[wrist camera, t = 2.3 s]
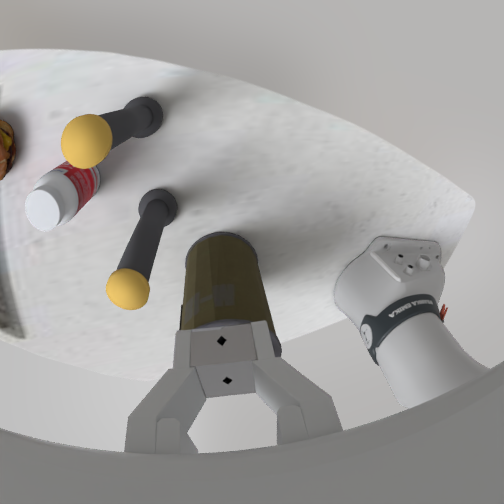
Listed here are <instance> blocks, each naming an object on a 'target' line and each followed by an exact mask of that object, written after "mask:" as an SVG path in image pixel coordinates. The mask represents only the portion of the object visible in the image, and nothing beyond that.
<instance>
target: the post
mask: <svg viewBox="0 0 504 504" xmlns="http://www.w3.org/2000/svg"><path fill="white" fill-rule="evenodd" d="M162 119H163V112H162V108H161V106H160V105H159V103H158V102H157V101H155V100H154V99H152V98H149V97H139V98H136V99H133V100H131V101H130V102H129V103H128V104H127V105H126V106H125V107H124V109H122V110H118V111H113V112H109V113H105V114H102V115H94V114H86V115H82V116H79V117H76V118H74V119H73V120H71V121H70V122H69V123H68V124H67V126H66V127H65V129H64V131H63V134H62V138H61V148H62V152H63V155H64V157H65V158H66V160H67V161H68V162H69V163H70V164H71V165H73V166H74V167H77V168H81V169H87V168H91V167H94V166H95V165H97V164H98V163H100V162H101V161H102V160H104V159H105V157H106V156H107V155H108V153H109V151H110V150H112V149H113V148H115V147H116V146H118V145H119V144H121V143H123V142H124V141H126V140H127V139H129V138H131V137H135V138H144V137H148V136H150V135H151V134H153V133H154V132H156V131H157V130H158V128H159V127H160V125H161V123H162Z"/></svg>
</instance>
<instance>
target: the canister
mask: <svg viewBox="0 0 504 504" xmlns="http://www.w3.org/2000/svg"><path fill="white" fill-rule="evenodd" d="M185 267H186V276H185V287H184V298H183V305H181V316H180V329H179V330H192V329H201V328H213V327H222V326H229V325H237V324H244V323H251V322H258V321H264V320H265V321H266V322H267V325H268V329H269V333H270V337H271V342H272V346H273V350H274V354H275V357H281V353H282V349H281V344H280V342H279V339H278V337H277V336H276V333H275V329H274V325H273V321H272V317H271V313H270V310H269V306H268V302H267V298H266V294H265V290H264V287H263V283H262V279H261V275H260V271H259V267H258V259H257V254H256V252H255V250H254V248H253V247H252V246H251V244H250V243H249V242H248V241H246V240H245V239H244V238H242V237H240V236H239V235H235V234H232V233H225V232H219V233H213V234H209V235H207V236H204V237H202V238H200V239H199V240H198V241H196V242H195V243H194V244H193V245H192V247H191V248H190V249H189V251H188V254H187V256H186V262H185Z"/></svg>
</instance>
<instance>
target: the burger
mask: <svg viewBox="0 0 504 504" xmlns="http://www.w3.org/2000/svg"><path fill="white" fill-rule="evenodd" d="M13 135H14V134H13V130H12V128H11V126H10V125H9V124H8V123H7V122H5V121H2V120H0V180H2V179H3V178H4V177H5V175H6V174H7V173H8V172H9V170H10V169H11V168H12V162H13V160H14V158H15V154H16V146H15V144H14V141H13Z"/></svg>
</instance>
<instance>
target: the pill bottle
mask: <svg viewBox="0 0 504 504" xmlns="http://www.w3.org/2000/svg"><path fill="white" fill-rule="evenodd" d="M99 184H100V176H99V172H98V169H97V167H96V166H94V167H91V168H87V169H81V168H77V167H74V166H73V165H71V164H70V163H69V162H68V161H66V162H64V163H63V164H61V165H59V166H58V167H56V168H54V169H53V170H51V171H50V172H48V173H47V174H45V175H44V176H42V177H41V178H40V179H39V180H38V181H37V183H36V185H35V187H34V189H33V191H32V192H31V193H30V194H29V195H28V197H27V199H26V203H25V211H26V215H27V217H28V219H29V221H30V223H31V224H32V225H33V226H34V227H35V228H37V229H38V230H41V231H50V230H53V229H54V228H55V227H56V226H57V225H63V224H65V223H67V222H69V221H70V220H71V219H72V218H73V217H74V216H75V215H76V214H77V213H78V212H79V210H80V209H81V208H82V207H83V206H84V205H85V204H86V203H87V202H88V201H89V200H90V199H91V198H92V197H93V196H94V195H95V193H96V192H97V190H98V188H99Z"/></svg>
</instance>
